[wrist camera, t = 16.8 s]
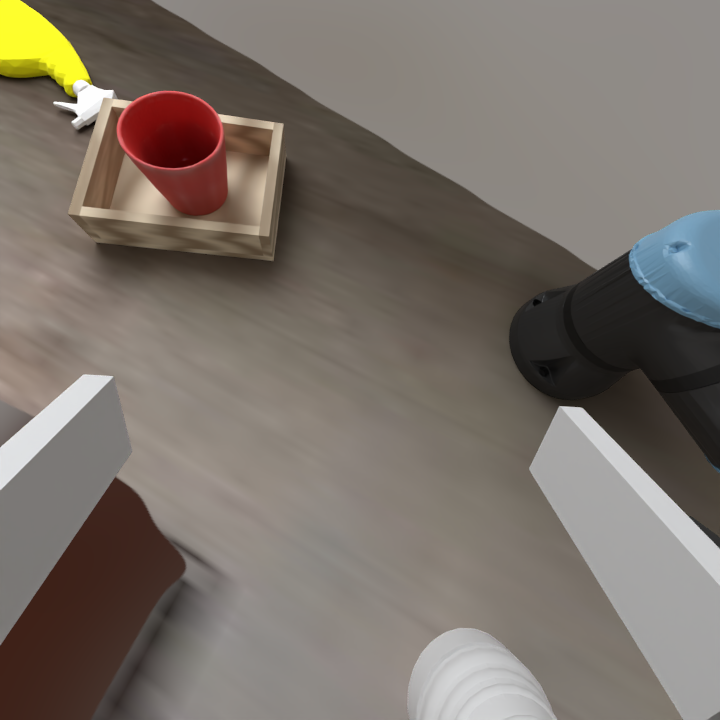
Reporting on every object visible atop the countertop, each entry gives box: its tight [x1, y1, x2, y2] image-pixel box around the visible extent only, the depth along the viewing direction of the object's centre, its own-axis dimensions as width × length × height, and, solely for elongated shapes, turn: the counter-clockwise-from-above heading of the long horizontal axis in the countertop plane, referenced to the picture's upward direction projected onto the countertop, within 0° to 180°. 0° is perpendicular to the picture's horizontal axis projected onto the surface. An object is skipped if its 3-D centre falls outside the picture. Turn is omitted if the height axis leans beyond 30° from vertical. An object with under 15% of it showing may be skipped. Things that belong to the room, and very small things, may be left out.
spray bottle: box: [0, 0, 118, 129], centre depth 50 cm, size 3×11×25 cm
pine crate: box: [68, 98, 286, 261], centre depth 46 cm, size 22×17×6 cm
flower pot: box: [117, 91, 228, 216], centre depth 43 cm, size 11×11×10 cm
